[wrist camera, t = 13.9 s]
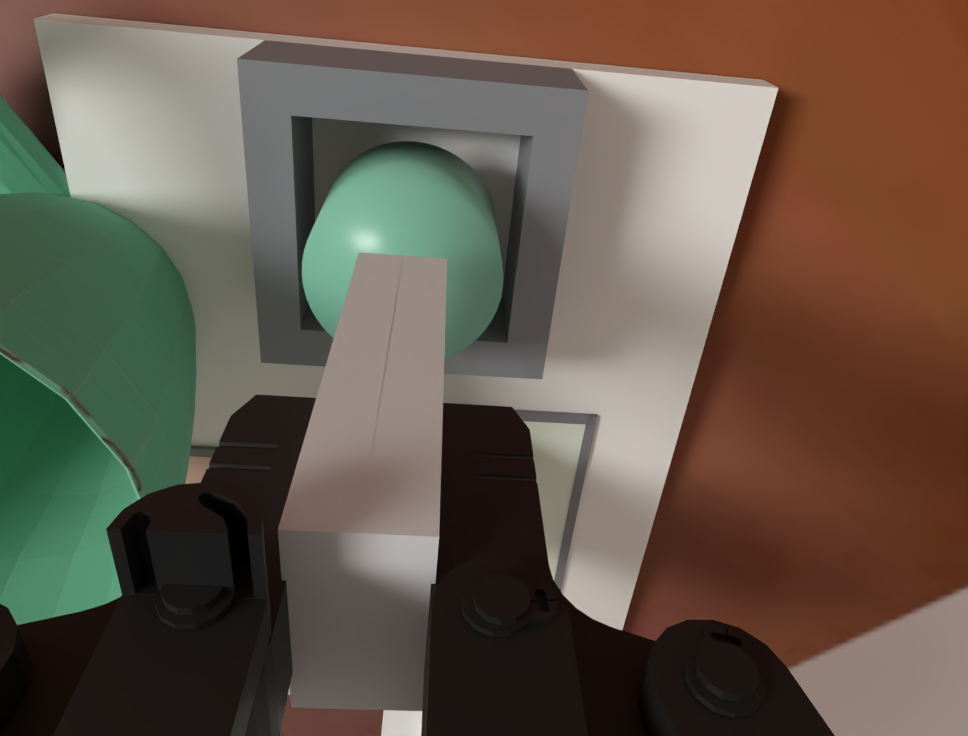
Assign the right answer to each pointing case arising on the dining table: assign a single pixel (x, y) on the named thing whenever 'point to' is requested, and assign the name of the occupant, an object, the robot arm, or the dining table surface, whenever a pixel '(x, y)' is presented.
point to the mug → (80, 381)
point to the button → (409, 233)
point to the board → (519, 215)
